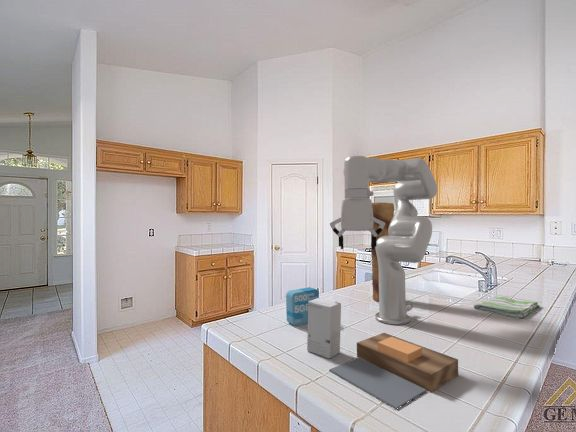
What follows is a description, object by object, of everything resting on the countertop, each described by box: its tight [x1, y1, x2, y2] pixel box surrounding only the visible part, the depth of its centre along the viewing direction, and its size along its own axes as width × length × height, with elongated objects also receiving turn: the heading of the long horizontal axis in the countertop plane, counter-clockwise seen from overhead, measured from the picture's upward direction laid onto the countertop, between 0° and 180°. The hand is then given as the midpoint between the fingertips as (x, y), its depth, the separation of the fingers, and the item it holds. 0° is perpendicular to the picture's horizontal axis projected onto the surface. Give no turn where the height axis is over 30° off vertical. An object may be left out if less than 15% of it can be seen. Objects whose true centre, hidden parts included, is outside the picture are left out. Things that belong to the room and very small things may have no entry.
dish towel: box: [473, 296, 540, 320], centre depth 129 cm, size 17×23×4 cm
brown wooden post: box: [370, 201, 395, 303], centre depth 144 cm, size 10×11×45 cm
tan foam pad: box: [378, 337, 422, 362], centre depth 81 cm, size 9×6×2 cm, turn 36°
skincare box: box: [306, 297, 342, 359], centre depth 91 cm, size 8×6×15 cm
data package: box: [285, 286, 320, 327], centre depth 117 cm, size 12×4×12 cm, turn 121°
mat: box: [328, 357, 427, 410], centre depth 75 cm, size 11×20×1 cm, turn 35°
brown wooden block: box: [356, 332, 459, 393], centre depth 82 cm, size 12×22×4 cm, turn 35°
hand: (357, 248), depth 100 cm, fingers open, 9 cm apart
